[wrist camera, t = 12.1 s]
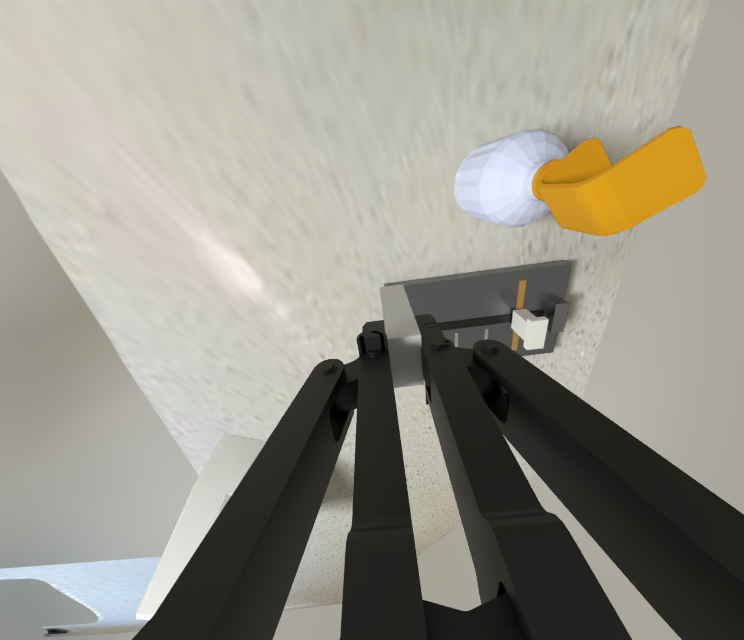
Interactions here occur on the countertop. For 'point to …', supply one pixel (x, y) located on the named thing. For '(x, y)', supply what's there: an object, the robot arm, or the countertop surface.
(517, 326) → the fader
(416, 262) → the countertop surface
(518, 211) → the soap bottle
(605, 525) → the robot arm
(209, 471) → the white toy house
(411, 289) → the console
